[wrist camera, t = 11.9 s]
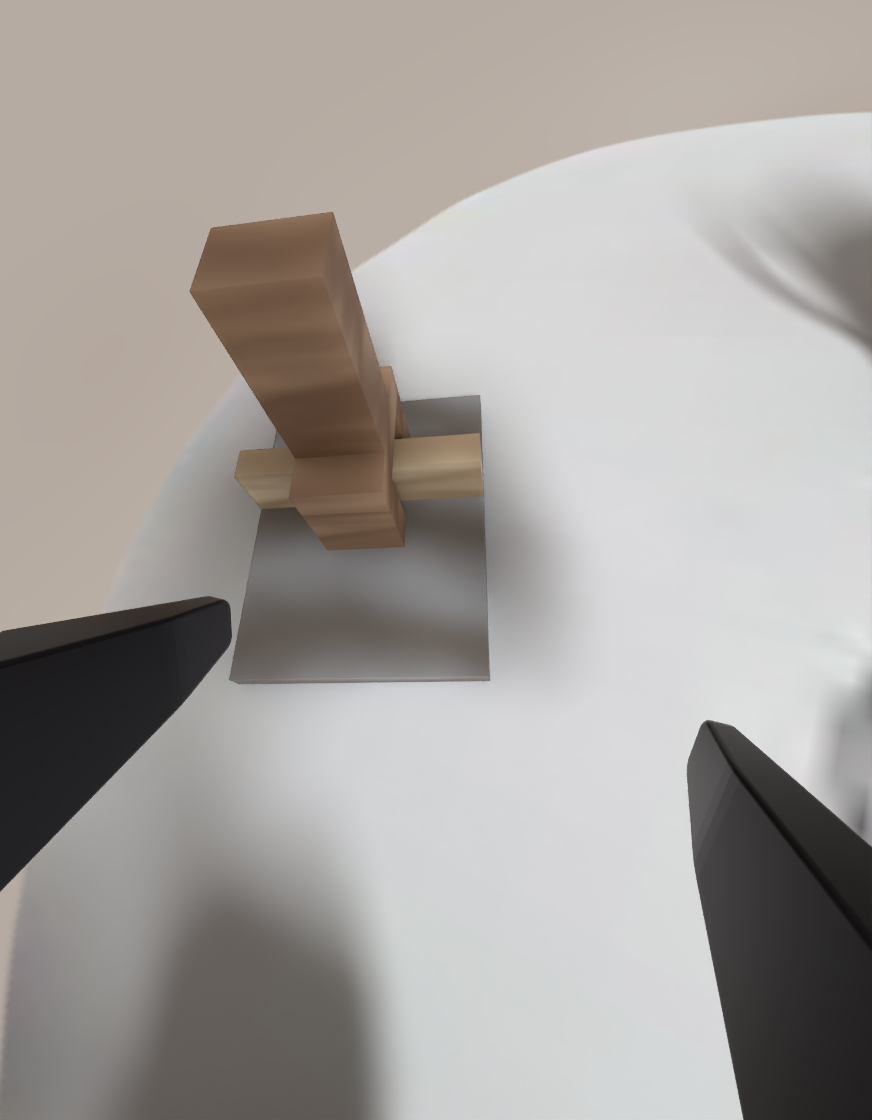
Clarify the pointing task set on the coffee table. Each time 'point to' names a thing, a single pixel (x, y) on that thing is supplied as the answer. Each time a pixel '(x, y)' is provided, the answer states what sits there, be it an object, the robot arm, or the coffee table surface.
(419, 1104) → the coffee table surface
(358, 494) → the wooden block
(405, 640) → the cross plate base
